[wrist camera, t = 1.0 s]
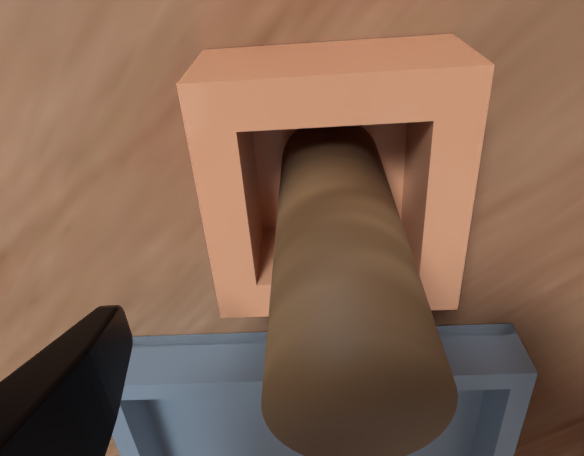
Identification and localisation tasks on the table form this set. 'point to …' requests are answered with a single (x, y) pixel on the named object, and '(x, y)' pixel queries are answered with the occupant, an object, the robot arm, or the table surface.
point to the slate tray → (248, 391)
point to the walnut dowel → (348, 310)
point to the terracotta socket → (331, 113)
